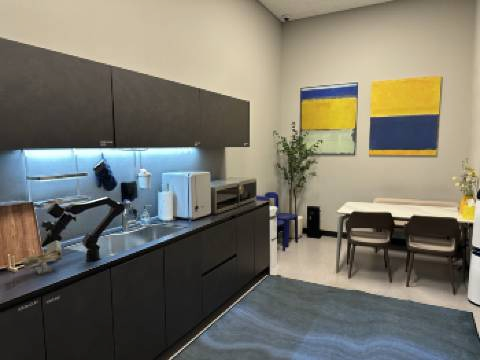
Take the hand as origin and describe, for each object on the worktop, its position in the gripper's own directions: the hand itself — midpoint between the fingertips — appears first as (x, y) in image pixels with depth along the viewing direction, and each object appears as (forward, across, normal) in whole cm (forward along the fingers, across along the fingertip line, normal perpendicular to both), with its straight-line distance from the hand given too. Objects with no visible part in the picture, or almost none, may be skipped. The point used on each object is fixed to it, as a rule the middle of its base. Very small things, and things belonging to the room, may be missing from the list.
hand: (41, 246), depth 182 cm
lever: (+7, 0, +7) cm, 10 cm away
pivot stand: (+9, 0, +10) cm, 13 cm away
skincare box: (+4, -18, +16) cm, 24 cm away
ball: (+8, 0, 0) cm, 8 cm away
